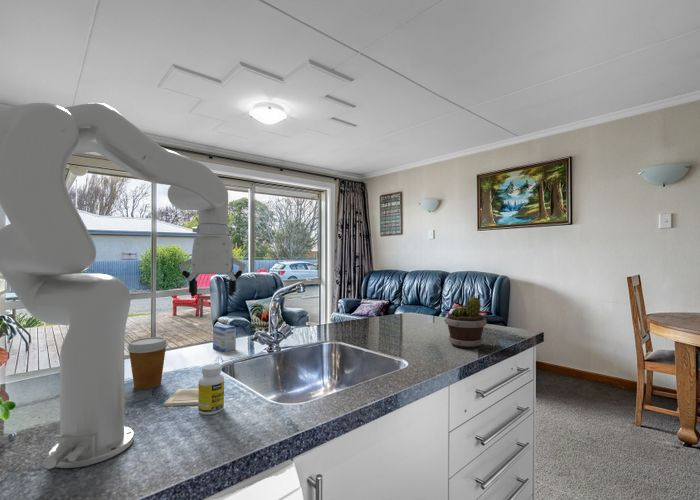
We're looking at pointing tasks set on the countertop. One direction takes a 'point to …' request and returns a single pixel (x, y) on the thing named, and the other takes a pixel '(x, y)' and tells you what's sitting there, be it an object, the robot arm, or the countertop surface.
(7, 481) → the countertop surface
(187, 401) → the coaster
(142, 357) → the disposable coffee cup
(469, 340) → the flowerpot
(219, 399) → the supplement bottle
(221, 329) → the medicine box
